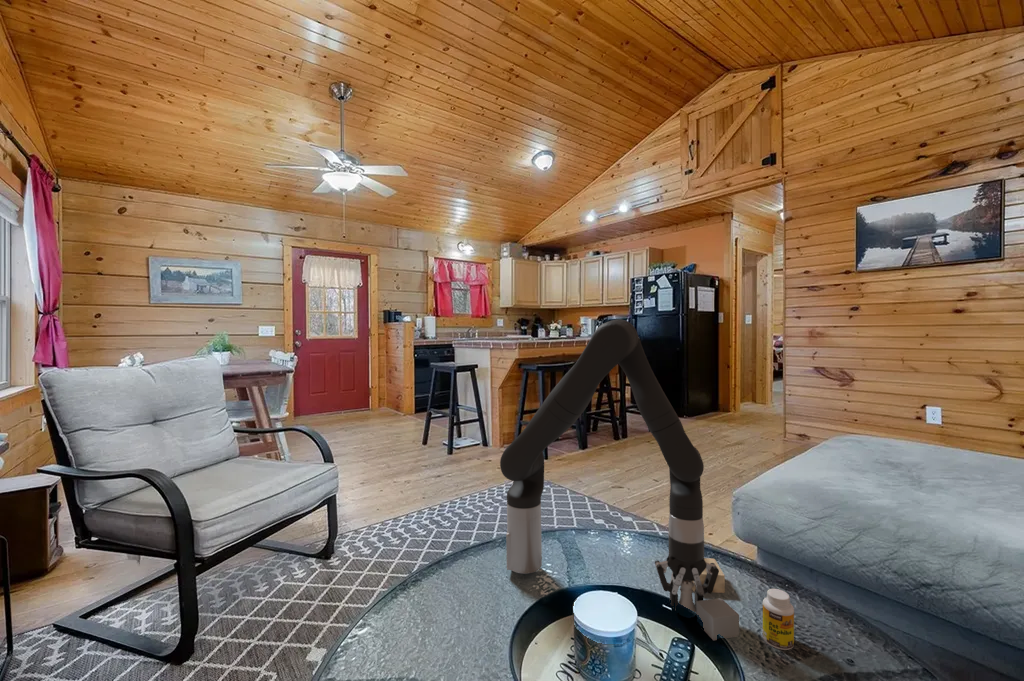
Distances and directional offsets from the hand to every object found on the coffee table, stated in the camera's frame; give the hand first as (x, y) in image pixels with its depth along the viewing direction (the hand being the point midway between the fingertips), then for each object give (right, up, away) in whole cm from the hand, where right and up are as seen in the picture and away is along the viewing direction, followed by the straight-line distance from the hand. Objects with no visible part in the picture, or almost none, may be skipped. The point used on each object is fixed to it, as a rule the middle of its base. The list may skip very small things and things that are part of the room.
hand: (686, 608), depth 101 cm
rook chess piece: (0, -2, 0) cm, 2 cm away
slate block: (+4, -2, -5) cm, 7 cm away
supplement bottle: (+15, -2, -10) cm, 18 cm away
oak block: (+9, -1, +12) cm, 15 cm away
